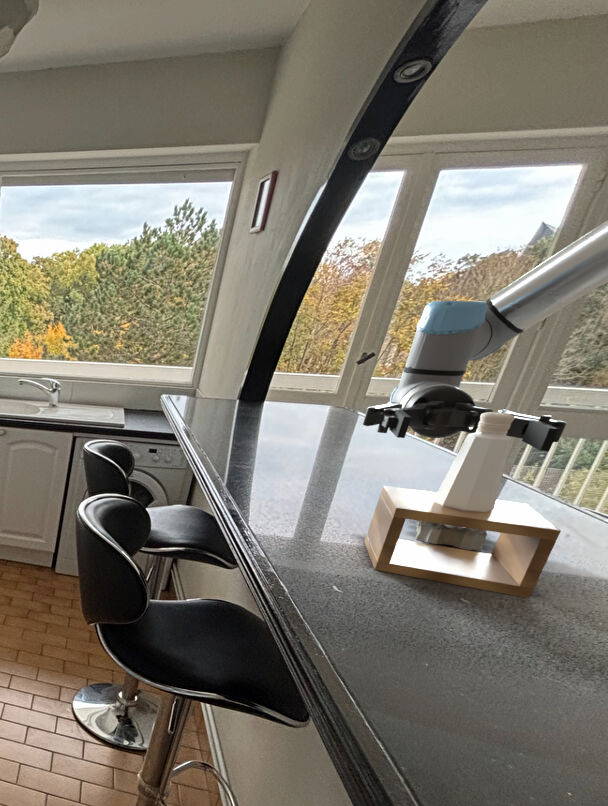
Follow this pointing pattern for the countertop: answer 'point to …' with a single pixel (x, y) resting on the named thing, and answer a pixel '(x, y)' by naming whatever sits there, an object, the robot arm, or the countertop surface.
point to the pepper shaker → (478, 466)
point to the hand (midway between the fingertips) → (473, 433)
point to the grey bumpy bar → (450, 535)
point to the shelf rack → (499, 572)
